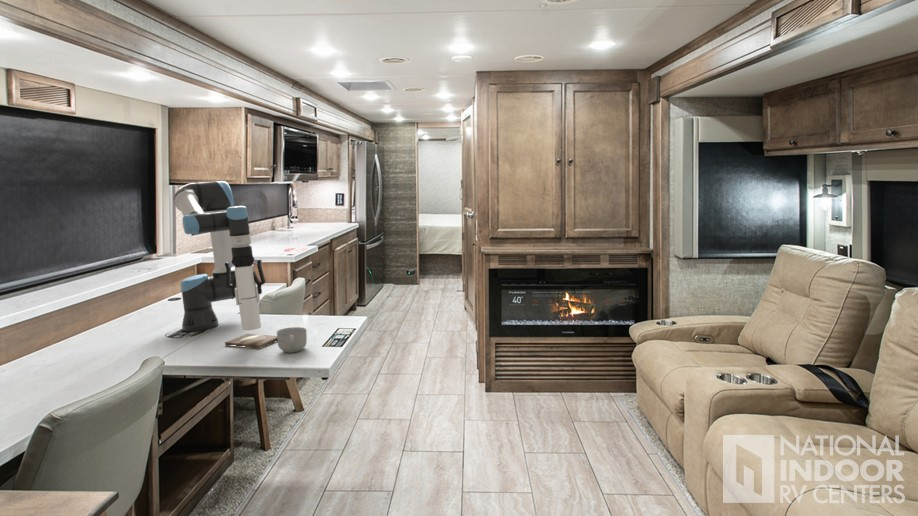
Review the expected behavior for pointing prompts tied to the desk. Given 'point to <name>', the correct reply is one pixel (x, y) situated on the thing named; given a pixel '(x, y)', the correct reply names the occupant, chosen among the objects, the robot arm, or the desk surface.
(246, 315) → the cylindrical container
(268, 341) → the board
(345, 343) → the desk surface
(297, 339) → the teacup
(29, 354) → the desk surface
